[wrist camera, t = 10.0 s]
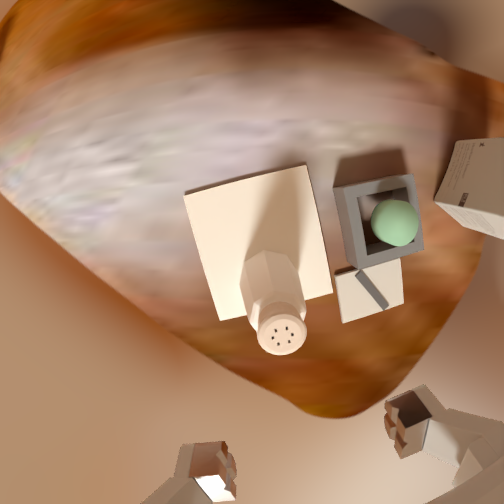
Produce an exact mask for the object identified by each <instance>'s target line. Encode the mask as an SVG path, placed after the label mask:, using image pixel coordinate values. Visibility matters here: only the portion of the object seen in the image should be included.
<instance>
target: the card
mask: <svg viewBox="0 0 504 504" xmlns="http://www.w3.org/2000/svg"><path fill="white" fill-rule="evenodd" d="M334 277H335V283H336V288H337V295H338V301H339V307H340V314H341V321H342V323H346V322H349V321H352V320H355V319H358V318H362V317H365V316H368V315H371V314H374V313H377V312H380V311H384V310H386V309H389V308H392V307H395V306H397V305H400V304H403V303H404V300H403V285H402V273H401V263H400V258H396V259H393V260H390V261H386V262H383V263H380V264H376V265H373V266H369V267H366V268H363V269H359V270H358V269H355V270H351V271H348V272H344V273H341V274H337V275H334Z"/></svg>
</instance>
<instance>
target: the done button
mask: <svg viewBox="0 0 504 504" xmlns="http://www.w3.org/2000/svg"><path fill="white" fill-rule="evenodd" d="M418 226H419V220H418V215H417V212H416V210H415V209H414V207H413V206H412V205H411V204H409V203H408V202H405V201H399V200H384V201H382V202H380V203H379V204H378V205H377V206H376V207H375V209H374V210H373V213H372V216H371V227H372V230H373V232H374V234H375V236H376V237H377V238H379V239H380V240H382V241H384V242H386V243H389V244H391V245H394V246H404V245H407V244H408V243H410V242H411V241H412V240H413V239H414V237H415V235H416V233H417V231H418Z"/></svg>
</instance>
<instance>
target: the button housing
mask: <svg viewBox="0 0 504 504" xmlns="http://www.w3.org/2000/svg"><path fill="white" fill-rule="evenodd" d="M388 190H392V193H393V199H394V200H399V201H405V202H408V203H409V204H411V205H412V206H413V207H414V209H415V210H416V212H417V215H418V220H419V226H418V231H417V233H416V235H415V237H414V239H413V240H412V241H411V242H410V243H408V244H407V245H404V246H394V245H391V244H389V243H386V242H384V241H381V242H378V243H374V244H371V245H367V246H366V245H365V239H364V233H363V227H362V222H361V216H360V211H359V206H358V201H357V197H361V196H365V195H370V194H374V193H379V192H384V191H388ZM333 192H334V196H335V201H336V205H337V210H338V215H339V220H340V225H341V230H342V235H343V240H344V246H345V252H346V257H347V262H349V263H350V264H351V265H353V266H354V267H355V268H357V269H358V270H359V269H363V268H366V267H369V266H373V265H376V264H380V263H383V262H386V261H390V260H393V259H396V258H399V257H403V256H406V255H409V254H412V253H415V252H419V251H422V250H424V243H423V233H422V225H421V217H420V210H419V204H418V197H417V192H416V186H415V181H414V175H413V174H398V175H392V176H387V177H382V178H377V179H372V180H367V181H363V182H358V183H353V184H348V185H344V186H339V187H334V188H333Z"/></svg>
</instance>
